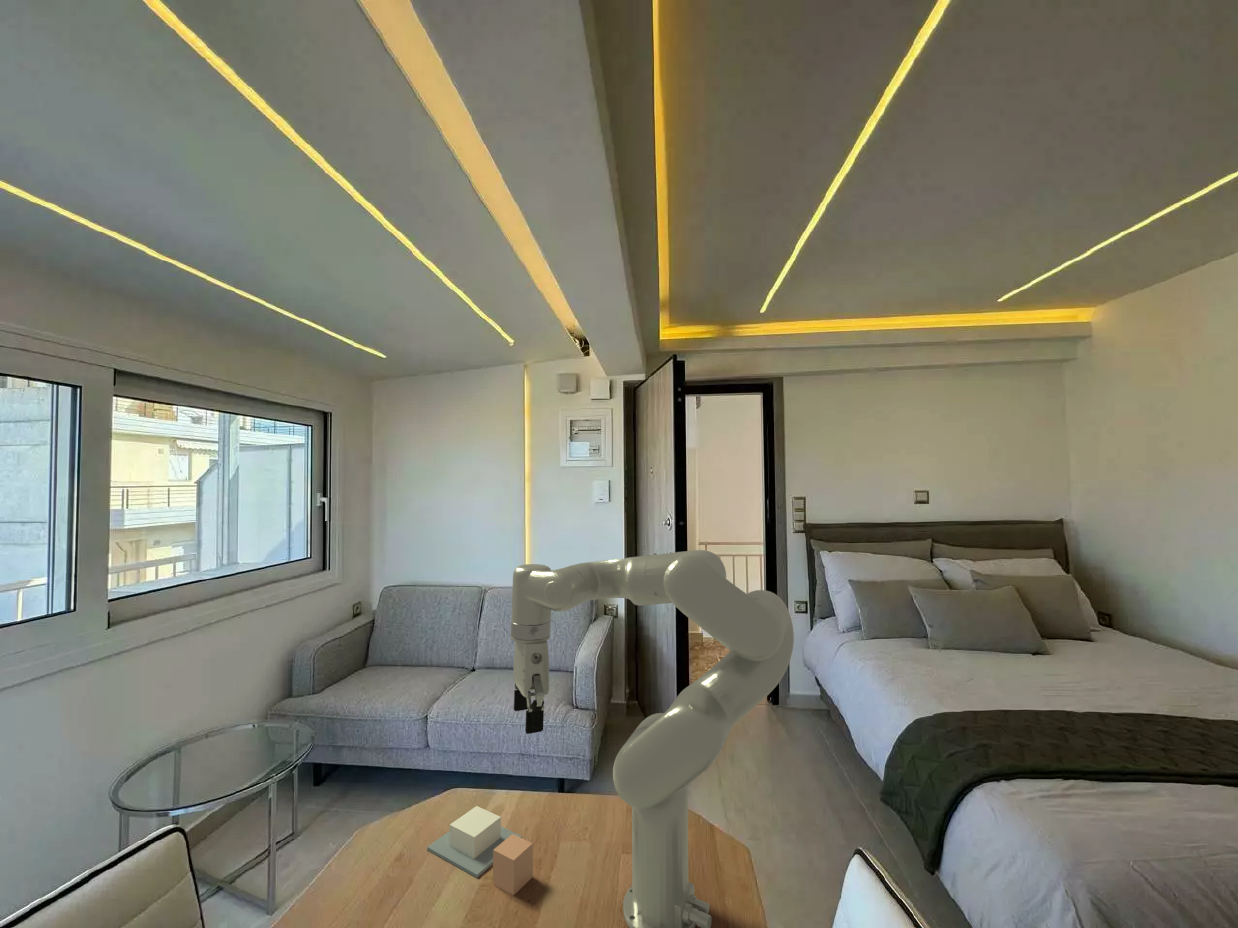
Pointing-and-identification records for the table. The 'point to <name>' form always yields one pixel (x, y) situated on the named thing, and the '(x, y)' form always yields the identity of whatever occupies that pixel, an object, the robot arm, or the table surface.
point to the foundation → (472, 841)
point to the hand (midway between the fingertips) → (527, 720)
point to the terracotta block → (512, 864)
